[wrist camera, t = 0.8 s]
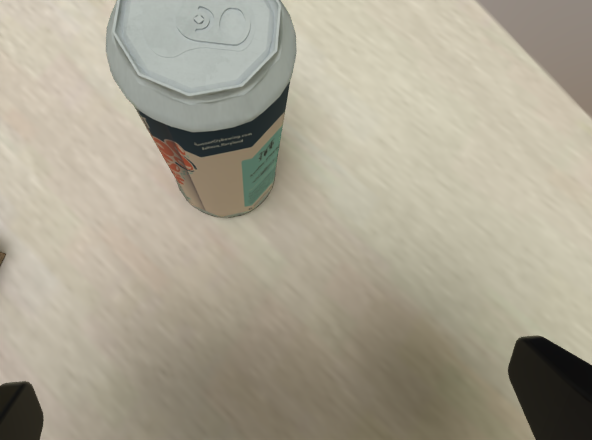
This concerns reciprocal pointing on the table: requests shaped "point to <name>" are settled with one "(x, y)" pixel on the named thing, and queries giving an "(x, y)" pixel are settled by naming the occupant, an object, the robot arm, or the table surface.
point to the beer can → (208, 91)
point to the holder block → (2, 257)
